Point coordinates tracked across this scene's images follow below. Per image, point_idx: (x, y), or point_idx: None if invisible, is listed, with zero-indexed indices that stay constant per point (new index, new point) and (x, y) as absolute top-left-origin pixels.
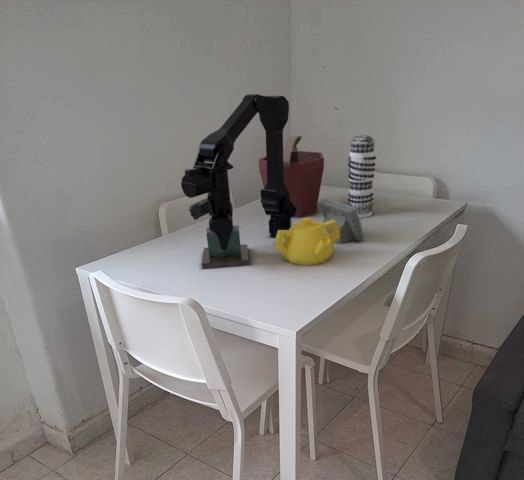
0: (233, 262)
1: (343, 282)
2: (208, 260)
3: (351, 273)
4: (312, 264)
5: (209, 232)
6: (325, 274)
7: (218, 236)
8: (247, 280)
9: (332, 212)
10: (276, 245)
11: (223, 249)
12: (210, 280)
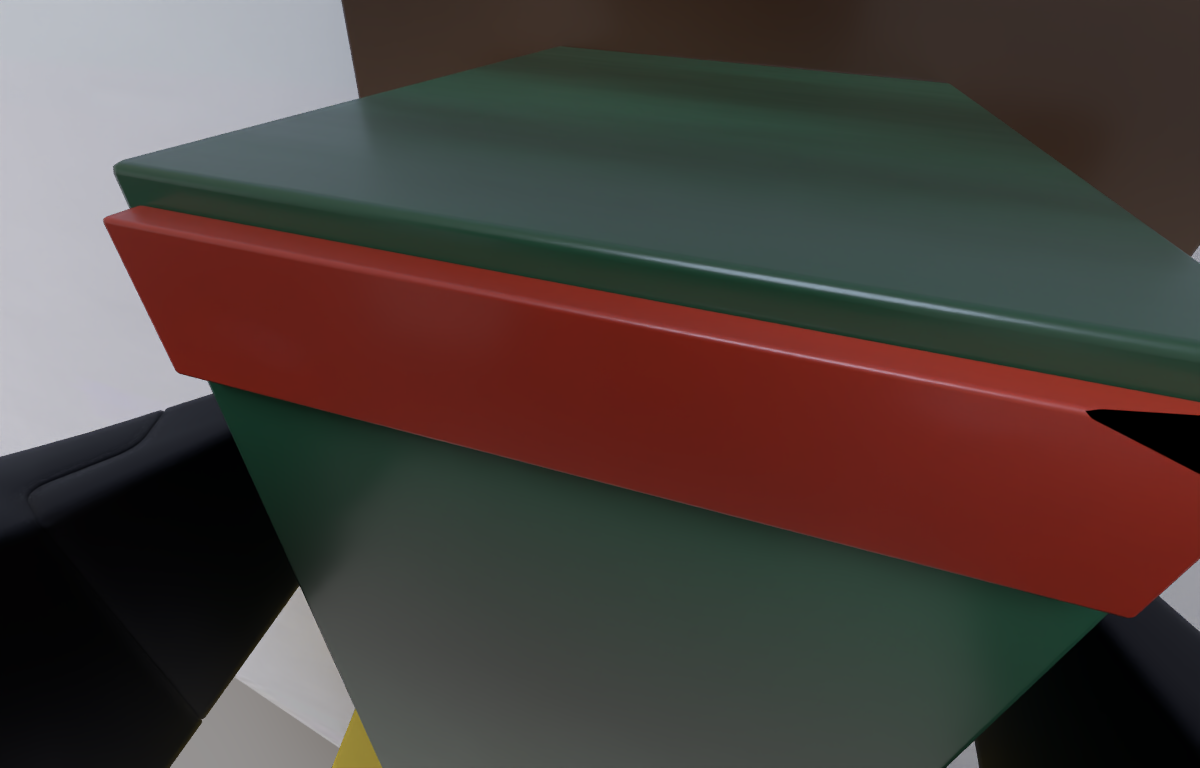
0: None
1: (246, 665)
2: (451, 19)
3: (331, 716)
4: None
5: (174, 334)
6: (314, 666)
7: (5, 474)
8: (166, 359)
9: None
10: (350, 738)
11: None
12: (59, 16)
